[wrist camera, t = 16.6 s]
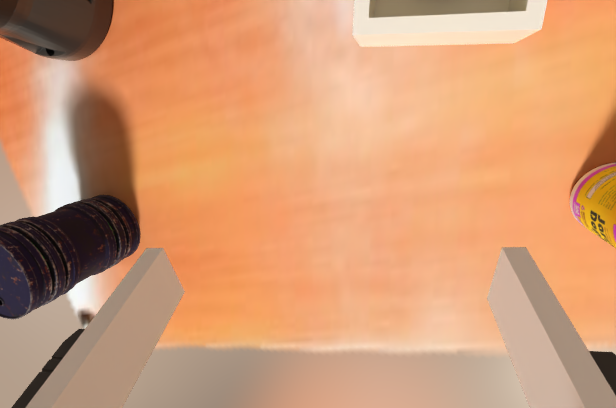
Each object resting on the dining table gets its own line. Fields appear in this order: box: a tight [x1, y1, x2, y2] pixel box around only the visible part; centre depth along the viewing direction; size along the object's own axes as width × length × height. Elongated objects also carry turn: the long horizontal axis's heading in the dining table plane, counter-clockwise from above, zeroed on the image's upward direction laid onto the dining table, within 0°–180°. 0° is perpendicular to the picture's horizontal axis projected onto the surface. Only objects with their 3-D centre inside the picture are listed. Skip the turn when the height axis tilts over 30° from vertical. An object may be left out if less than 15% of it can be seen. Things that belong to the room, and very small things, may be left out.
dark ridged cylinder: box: [0, 195, 140, 319], centre depth 40 cm, size 10×10×15 cm
